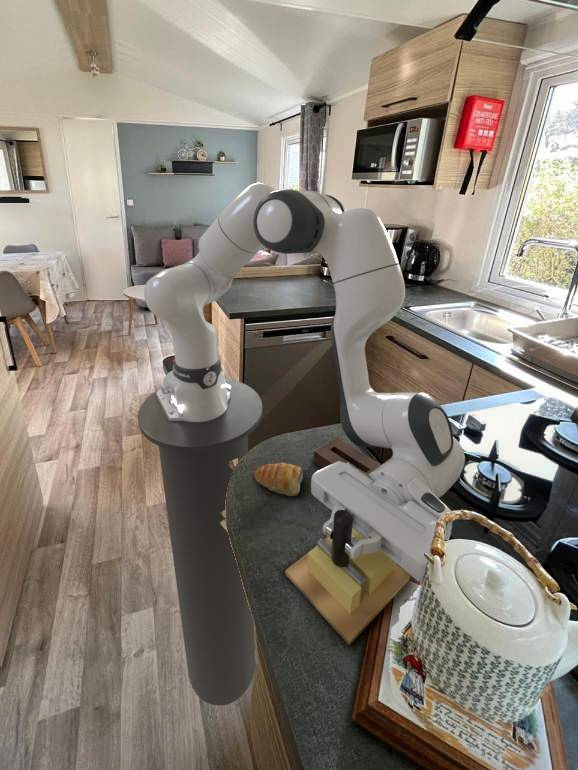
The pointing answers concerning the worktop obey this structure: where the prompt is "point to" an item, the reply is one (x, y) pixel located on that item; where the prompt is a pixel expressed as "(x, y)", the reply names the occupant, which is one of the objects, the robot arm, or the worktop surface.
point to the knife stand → (343, 456)
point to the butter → (370, 565)
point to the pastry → (280, 478)
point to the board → (333, 610)
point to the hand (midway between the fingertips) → (337, 542)
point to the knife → (342, 547)
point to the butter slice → (334, 579)
